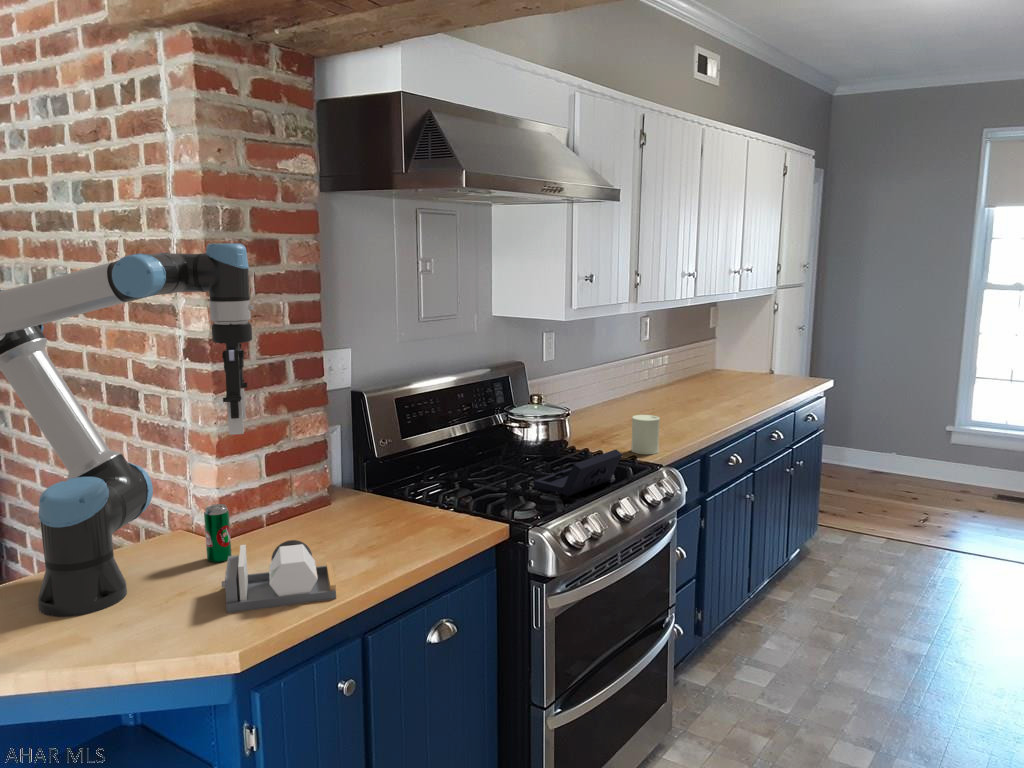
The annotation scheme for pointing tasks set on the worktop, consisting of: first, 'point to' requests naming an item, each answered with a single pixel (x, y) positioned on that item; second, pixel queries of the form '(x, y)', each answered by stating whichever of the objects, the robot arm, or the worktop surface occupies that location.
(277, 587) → the jar
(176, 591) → the worktop surface
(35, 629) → the worktop surface
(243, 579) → the pusher
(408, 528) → the worktop surface
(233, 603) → the grey tray
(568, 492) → the dark navy angled device
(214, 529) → the soda can
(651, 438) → the can
